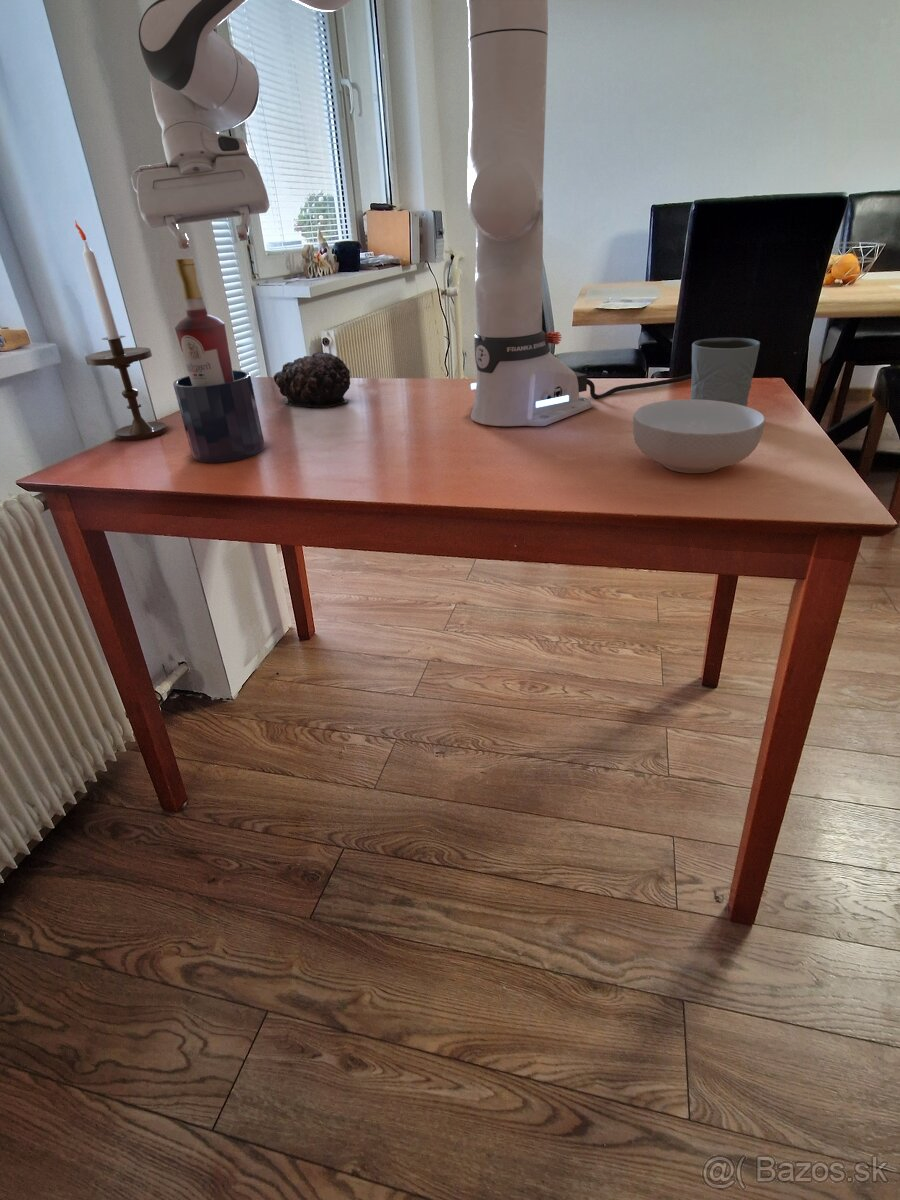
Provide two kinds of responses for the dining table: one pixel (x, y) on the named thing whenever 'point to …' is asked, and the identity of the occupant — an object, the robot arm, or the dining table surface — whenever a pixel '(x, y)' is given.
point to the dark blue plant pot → (220, 419)
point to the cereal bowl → (697, 433)
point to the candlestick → (118, 354)
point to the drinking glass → (723, 369)
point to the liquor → (201, 334)
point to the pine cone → (314, 381)
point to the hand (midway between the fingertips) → (214, 242)
